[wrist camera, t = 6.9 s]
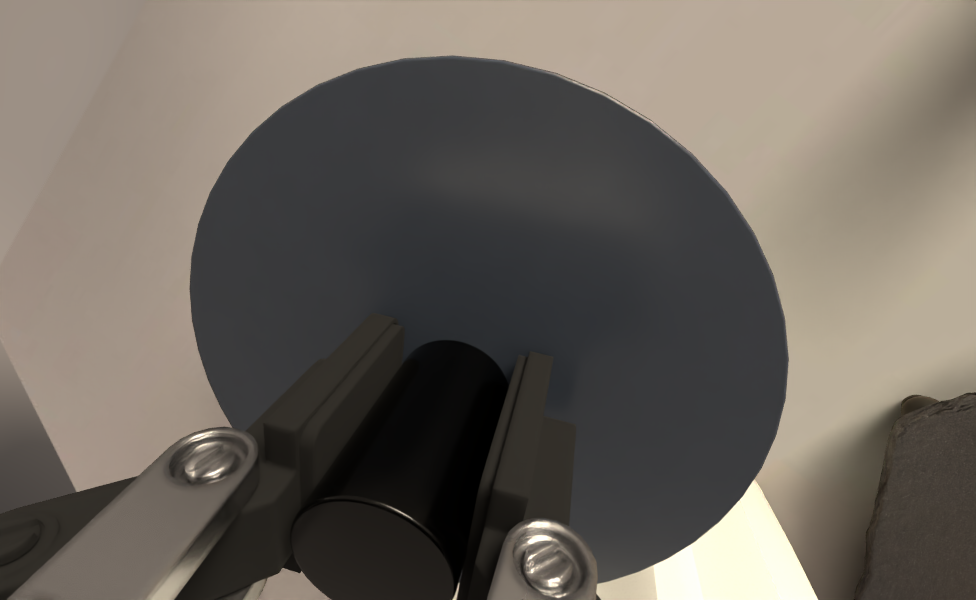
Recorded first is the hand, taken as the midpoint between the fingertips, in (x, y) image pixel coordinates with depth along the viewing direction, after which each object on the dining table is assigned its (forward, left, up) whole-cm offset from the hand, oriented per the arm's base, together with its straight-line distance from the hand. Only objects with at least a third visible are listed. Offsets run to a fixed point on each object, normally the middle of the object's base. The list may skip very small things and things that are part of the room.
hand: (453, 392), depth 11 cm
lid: (0, 0, -1) cm, 1 cm away
